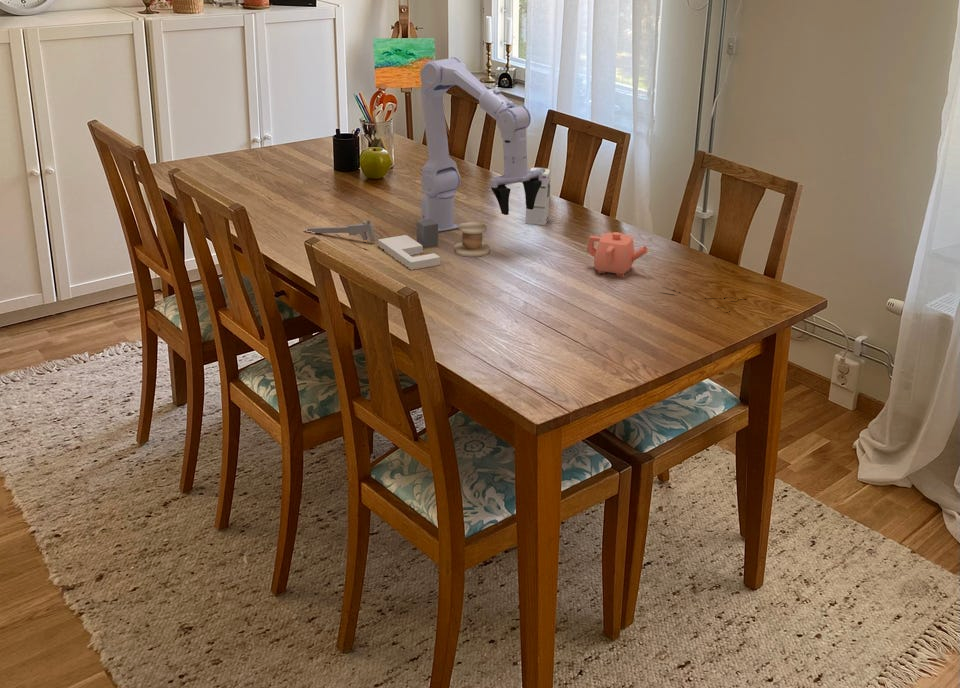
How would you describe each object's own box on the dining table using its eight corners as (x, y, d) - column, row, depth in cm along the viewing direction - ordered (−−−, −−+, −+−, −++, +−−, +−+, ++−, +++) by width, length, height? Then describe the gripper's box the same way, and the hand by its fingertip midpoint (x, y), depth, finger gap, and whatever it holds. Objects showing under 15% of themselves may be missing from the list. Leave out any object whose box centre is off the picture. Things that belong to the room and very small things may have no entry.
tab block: (416, 243, 259) (416, 221, 256) (430, 241, 261) (430, 219, 258) (424, 248, 256) (424, 226, 253) (437, 246, 258) (438, 223, 255)
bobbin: (447, 248, 257) (448, 223, 254) (477, 242, 261) (478, 218, 258) (465, 259, 250) (466, 234, 247) (496, 253, 254) (497, 229, 251)
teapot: (647, 276, 243) (651, 238, 239) (603, 281, 239) (607, 243, 235) (623, 260, 253) (627, 223, 249) (581, 264, 249) (584, 227, 245)
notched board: (378, 246, 256) (378, 239, 255) (406, 242, 260) (406, 234, 259) (411, 270, 242) (411, 262, 241) (440, 264, 246) (440, 257, 245)
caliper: (374, 243, 259) (374, 220, 256) (372, 245, 258) (372, 221, 255) (305, 232, 265) (304, 209, 262) (303, 233, 264) (302, 210, 262)
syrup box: (545, 225, 275) (549, 174, 269) (524, 223, 276) (527, 172, 270) (548, 219, 280) (552, 168, 274) (527, 217, 281) (530, 166, 275)
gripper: (500, 163, 239) (502, 219, 244) (548, 154, 247) (550, 209, 251) (483, 159, 245) (486, 214, 250) (531, 151, 252) (533, 204, 257)
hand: (517, 211), depth 251 cm, fingers open, 7 cm apart
